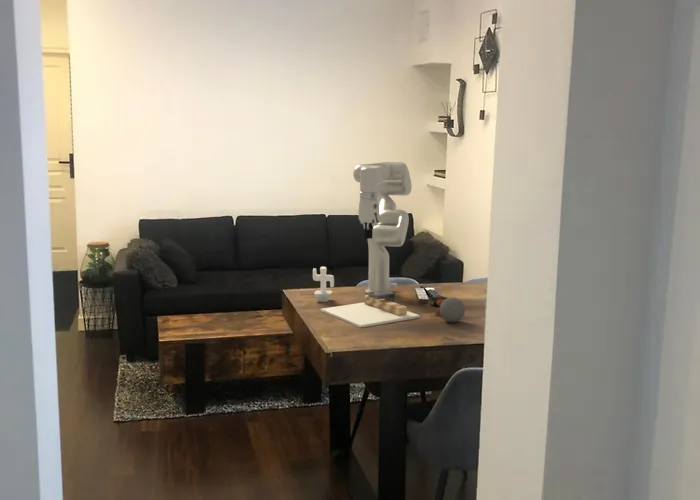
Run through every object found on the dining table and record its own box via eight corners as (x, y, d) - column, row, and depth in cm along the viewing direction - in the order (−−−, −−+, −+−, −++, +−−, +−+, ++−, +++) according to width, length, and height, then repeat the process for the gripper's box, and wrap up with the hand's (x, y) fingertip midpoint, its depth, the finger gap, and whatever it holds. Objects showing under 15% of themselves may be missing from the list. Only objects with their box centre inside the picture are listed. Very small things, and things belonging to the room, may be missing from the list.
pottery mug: (428, 317, 311) (426, 298, 314) (435, 322, 319) (433, 303, 322) (457, 312, 307) (454, 293, 310) (463, 317, 315) (460, 298, 318)
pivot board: (377, 302, 333) (377, 300, 333) (419, 317, 308) (419, 315, 308) (320, 311, 317) (320, 308, 317) (360, 327, 292) (360, 325, 292)
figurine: (332, 302, 332) (333, 269, 330) (311, 301, 333) (311, 268, 331) (334, 298, 339) (334, 265, 337) (313, 298, 340) (313, 265, 338)
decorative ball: (448, 317, 309) (448, 293, 307) (469, 321, 303) (470, 297, 301) (434, 322, 301) (435, 297, 300) (456, 326, 295) (456, 301, 293)
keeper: (390, 305, 324) (390, 291, 323) (394, 307, 321) (394, 293, 320) (373, 308, 319) (373, 294, 318) (377, 309, 316) (377, 295, 315)
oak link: (362, 302, 327) (362, 291, 326) (372, 301, 330) (372, 289, 329) (397, 315, 306) (397, 303, 305) (408, 313, 309) (408, 301, 308)
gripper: (386, 197, 320) (385, 240, 323) (365, 193, 332) (365, 235, 335) (371, 198, 316) (371, 241, 319) (351, 194, 328) (351, 236, 331)
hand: (368, 238), depth 327 cm, fingers closed
